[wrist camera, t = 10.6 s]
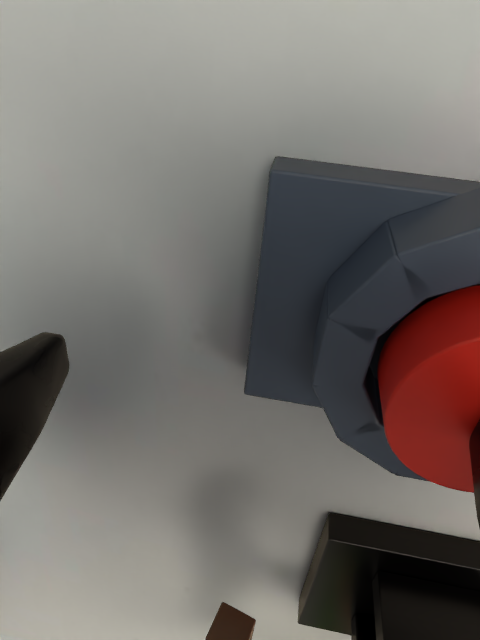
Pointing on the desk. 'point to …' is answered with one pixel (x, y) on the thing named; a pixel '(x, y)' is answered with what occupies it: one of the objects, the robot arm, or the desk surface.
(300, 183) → the button box
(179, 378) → the desk surface
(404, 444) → the red button
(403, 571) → the lever bracket
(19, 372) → the robot arm
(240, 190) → the desk surface
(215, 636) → the lever
